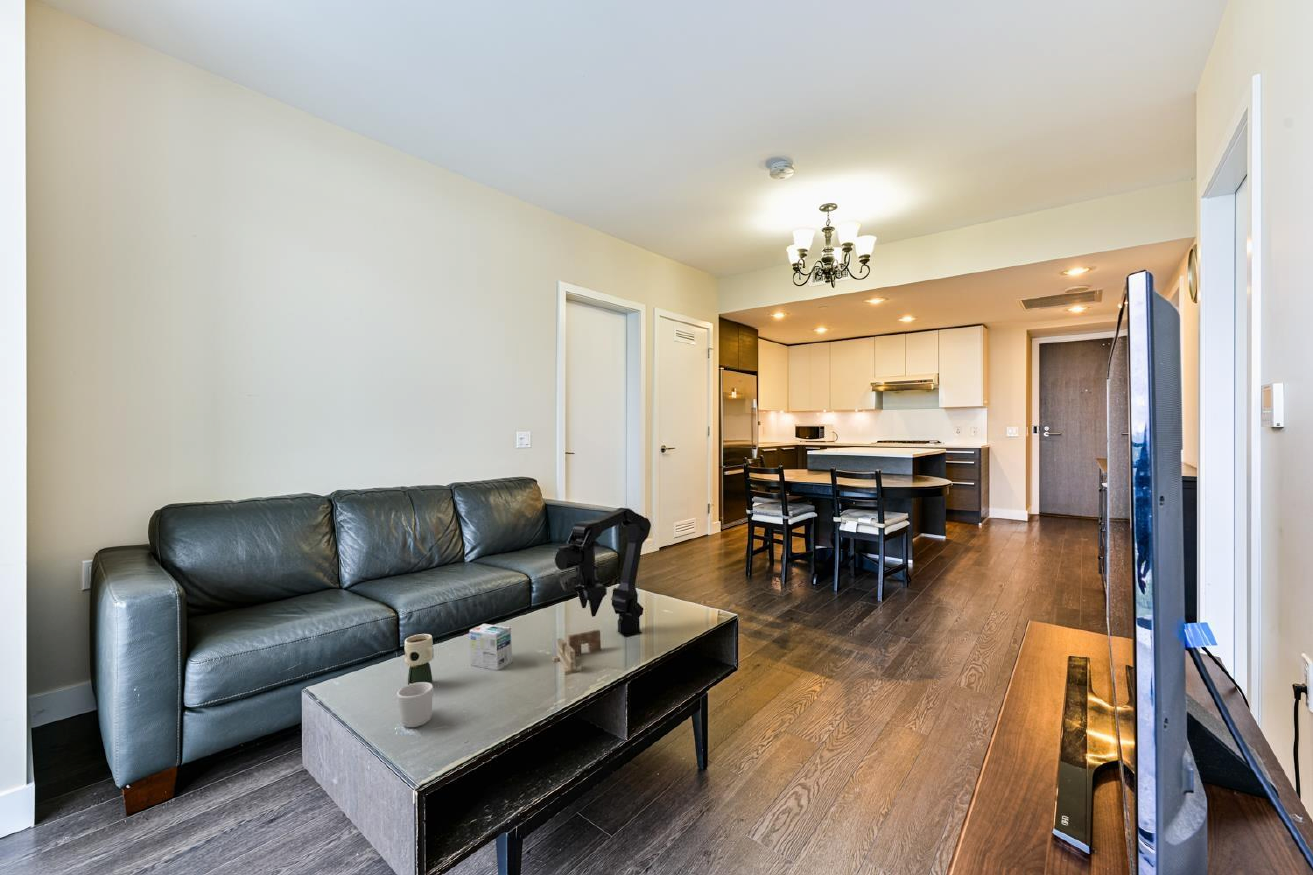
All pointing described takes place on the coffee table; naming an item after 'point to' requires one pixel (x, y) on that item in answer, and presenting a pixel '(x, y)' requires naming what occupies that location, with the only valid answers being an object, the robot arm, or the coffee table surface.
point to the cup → (415, 703)
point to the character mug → (419, 658)
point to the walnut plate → (585, 641)
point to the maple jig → (566, 657)
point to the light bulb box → (490, 646)
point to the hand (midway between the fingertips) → (588, 612)
